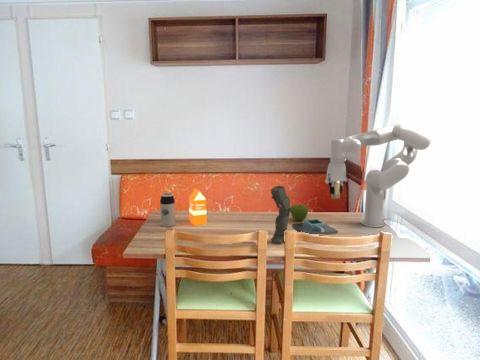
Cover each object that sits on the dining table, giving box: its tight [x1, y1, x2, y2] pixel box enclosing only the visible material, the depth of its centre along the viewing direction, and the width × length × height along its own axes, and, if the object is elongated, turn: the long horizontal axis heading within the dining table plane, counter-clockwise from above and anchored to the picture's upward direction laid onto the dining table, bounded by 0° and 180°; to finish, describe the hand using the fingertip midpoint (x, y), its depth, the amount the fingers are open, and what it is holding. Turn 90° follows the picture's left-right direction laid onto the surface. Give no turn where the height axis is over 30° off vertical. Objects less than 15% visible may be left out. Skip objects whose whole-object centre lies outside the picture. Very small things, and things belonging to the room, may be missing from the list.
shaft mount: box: [291, 218, 339, 235], centre depth 198 cm, size 18×18×4 cm
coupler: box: [331, 181, 341, 200], centre depth 203 cm, size 4×5×10 cm
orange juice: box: [188, 187, 208, 226], centre depth 208 cm, size 8×9×20 cm
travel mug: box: [159, 192, 176, 228], centre depth 204 cm, size 8×8×18 cm
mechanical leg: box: [270, 185, 291, 245], centre depth 178 cm, size 14×7×30 cm, turn 141°
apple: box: [290, 203, 309, 222], centre depth 214 cm, size 11×10×10 cm
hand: (335, 193), depth 203 cm, fingers closed on coupler, 4 cm apart
